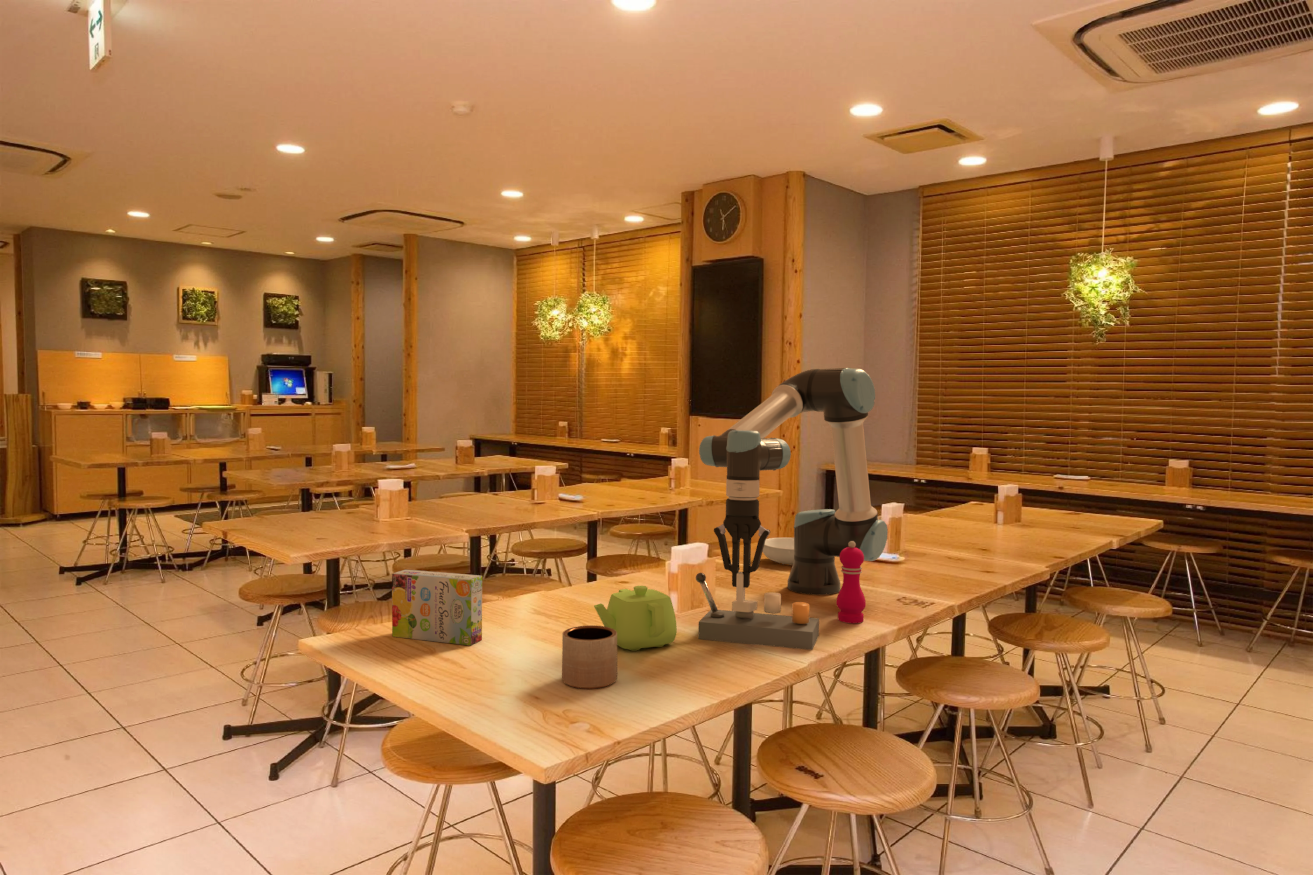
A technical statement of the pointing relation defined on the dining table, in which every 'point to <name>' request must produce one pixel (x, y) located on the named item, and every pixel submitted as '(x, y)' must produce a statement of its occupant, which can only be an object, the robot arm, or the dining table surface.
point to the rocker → (744, 606)
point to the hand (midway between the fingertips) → (740, 601)
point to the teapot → (640, 618)
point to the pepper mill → (851, 586)
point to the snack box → (437, 606)
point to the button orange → (800, 612)
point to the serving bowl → (780, 550)
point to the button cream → (772, 602)
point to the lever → (706, 591)
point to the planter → (589, 657)
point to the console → (758, 629)
